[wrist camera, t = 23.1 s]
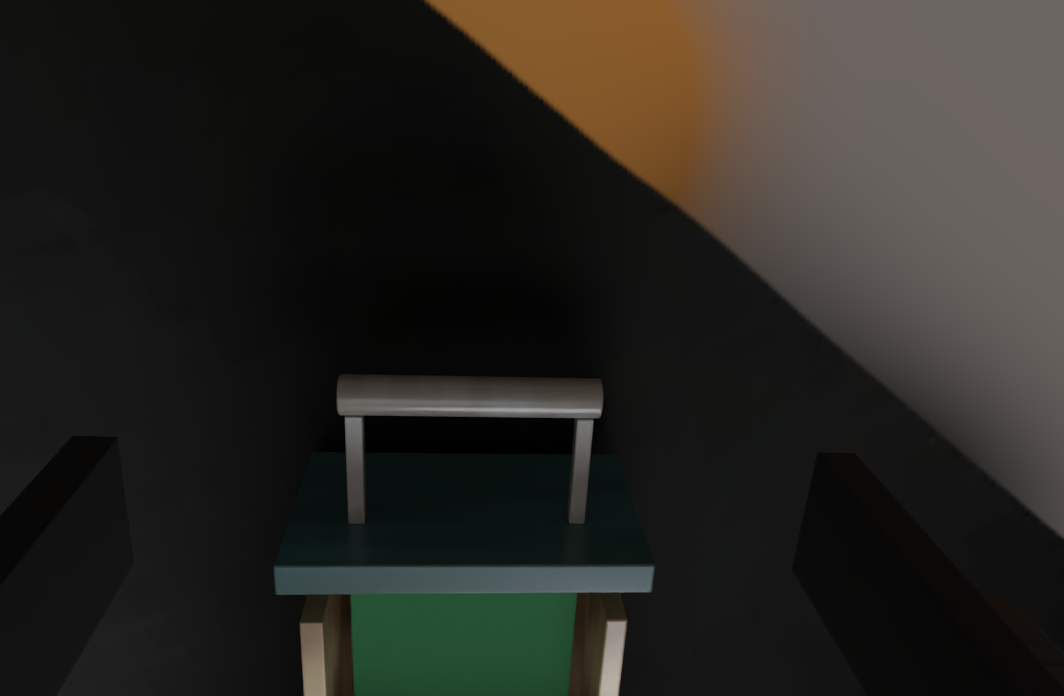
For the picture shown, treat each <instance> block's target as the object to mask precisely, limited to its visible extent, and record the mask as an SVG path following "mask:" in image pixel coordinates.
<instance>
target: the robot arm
mask: <svg viewBox="0 0 1064 696" xmlns="http://www.w3.org/2000/svg"><path fill="white" fill-rule="evenodd" d="M133 565H134V562H133V555H132V547H131V539H130V531H129V524H128V516H127V508H126V501H125V493H124V485H123V477H122V470H121V462H120V454H119V447H118V439H117V437H94V436H72V437H71V438H70V439H69V441H68V442H67V443H66V444H65V445H64V446H63V447H62V448H61V449H60V450H59V452H58V453H57V454H56V455H55V456H54V457H53V458H52V459H51V460H50V461H49V463H48V464H47V465H46V466H45V467H44V468H43V469H42V470H41V471H40V472H39V474H38V475H37V476H36V477H35V478H34V479H33V480H32V481H31V482H30V484H29V485H28V486H27V487H26V488H25V489H24V490H23V491H22V492H21V493H20V495H19V496H18V497H17V498H16V499H15V500H14V501H13V502H12V503H11V504H10V506H9V507H8V508H7V509H6V510H5V511H4V512H3V513H2V514H1V515H0V696H57V694H58V692H59V691H60V689H61V687H62V686H63V684H64V682H65V681H66V679H67V677H68V675H69V674H70V672H71V670H72V669H73V667H74V665H75V663H76V662H77V660H78V658H79V657H80V655H81V653H82V652H83V650H84V648H85V646H86V645H87V643H88V641H89V640H90V638H91V636H92V635H93V633H94V631H95V629H96V628H97V626H98V624H99V623H100V621H101V619H102V618H103V616H104V614H105V612H106V611H107V609H108V607H109V606H110V604H111V602H112V600H113V599H114V597H115V595H116V594H117V592H118V590H119V589H120V587H121V585H122V583H123V582H124V580H125V578H126V577H127V575H128V573H129V572H130V570H131V568H132V566H133ZM792 571H793V572H794V574H795V576H796V577H797V579H798V581H799V582H800V584H801V586H802V587H803V589H804V591H805V593H806V594H807V596H808V598H809V599H810V601H811V603H812V604H813V606H814V608H815V609H816V611H817V613H818V614H819V616H820V618H821V620H822V621H823V623H824V625H825V626H826V628H827V630H828V631H829V633H830V635H831V636H832V638H833V640H834V641H835V643H836V645H837V647H838V648H839V650H840V652H841V653H842V655H843V657H844V658H845V660H846V662H847V663H848V665H849V667H850V668H851V670H852V672H853V674H854V675H855V677H856V679H857V680H858V682H859V684H860V685H861V687H862V689H863V690H864V692H865V694H866V695H867V696H1064V652H1063V651H1062V650H1061V649H1060V648H1059V647H1058V646H1057V645H1056V644H1052V643H1051V638H1050V637H1049V636H1048V635H1047V634H1046V633H1045V632H1044V631H1043V630H1042V629H1041V628H1040V627H1039V626H1038V624H1037V623H1036V622H1035V621H1034V620H1033V619H1032V618H1031V617H1030V616H1029V615H1028V614H1026V613H1025V612H1023V611H1022V610H1020V609H1019V608H1017V607H1016V606H1014V605H1013V604H1011V603H1010V602H1008V601H1007V600H1005V599H1004V598H1003V597H1001V596H1000V595H998V594H980V593H979V592H978V591H977V590H976V589H975V588H974V587H973V585H972V584H971V583H970V582H969V581H968V580H967V579H966V578H965V576H964V575H963V574H962V573H961V572H960V571H959V570H958V569H957V567H956V566H955V565H954V564H953V563H952V562H951V561H950V560H949V558H948V557H947V556H946V555H945V554H944V553H943V552H942V551H941V549H940V548H939V547H938V546H937V545H936V544H935V543H934V542H933V540H932V539H931V538H930V537H929V536H928V535H927V534H926V533H925V531H924V530H923V529H922V528H921V527H920V526H919V525H918V524H917V522H916V521H915V520H914V519H913V518H912V517H911V516H910V515H909V513H908V512H907V511H906V510H905V509H904V508H903V507H902V506H901V504H900V503H899V502H898V501H897V500H896V499H895V498H894V497H893V495H892V494H891V493H890V492H889V491H888V490H887V489H886V488H885V486H884V485H883V484H882V483H881V482H880V481H879V480H878V479H877V478H876V476H875V475H874V474H873V473H872V472H871V471H870V470H869V469H868V467H867V466H866V465H865V464H864V463H863V462H862V461H861V460H860V458H859V457H858V456H857V455H856V454H855V453H817V458H816V462H815V467H814V471H813V476H812V480H811V485H810V489H809V494H808V498H807V503H806V507H805V512H804V516H803V521H802V525H801V530H800V534H799V539H798V543H797V548H796V552H795V557H794V561H793V566H792Z"/></svg>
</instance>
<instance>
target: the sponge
mask: <svg viewBox="0 0 1064 696" xmlns="http://www.w3.org/2000/svg"><path fill="white" fill-rule="evenodd" d="M350 601H351V630H352V658H353V686H354V696H568V695H569V684H570V672H571V661H572V650H573V638H574V627H575V615H576V604H577V593H469V594H350Z"/></svg>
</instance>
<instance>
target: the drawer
mask: <svg viewBox="0 0 1064 696" xmlns="http://www.w3.org/2000/svg"><path fill="white" fill-rule="evenodd" d="M336 405H337V412H338V414H339V415H345V443H346V452H313V453H312V455H311V458H310V461H309V464H308V466H307V469H306V472H305V475H304V478H303V481H302V484H301V487H300V490H299V493H298V496H297V499H296V502H295V505H294V508H293V511H292V514H291V516H290V519H289V522H288V525H287V528H286V531H285V534H284V537H283V540H282V543H281V546H280V549H279V552H278V555H277V558H276V561H275V564H274V566H273V569H274V583H275V593H276V594H277V595H307V597H306V601H305V605H304V608H303V612H302V616H301V620H300V639H301V655H302V671H303V687H304V696H354V686H353V658H352V630H351V601H350V594H469V593H577V604H576V615H575V627H574V638H573V650H572V661H571V672H570V684H569V695H568V696H619V688H620V680H621V671H622V663H623V654H624V646H625V637H626V629H627V617H626V613H625V609H624V605H623V602H622V598H621V594H620V592H651V591H652V587H653V580H654V572H655V563H654V560H653V557H652V555H651V552H650V549H649V546H648V543H647V540H646V537H645V534H644V532H643V529H642V526H641V523H640V520H639V517H638V514H637V512H636V509H635V506H634V503H633V500H632V497H631V494H630V491H629V489H628V486H627V483H626V480H625V477H624V474H623V471H622V468H621V466H620V463H619V460H618V457H617V455H591V445H592V434H593V422H594V421H593V418H600V416H601V414H602V409H603V386H602V382H601V380H600V379H599V378H547V377H488V376H429V375H370V374H341V375H339V377H338V381H337V391H336ZM364 415H368V416H449V417H529V418H575V422H574V435H573V447H572V454H468V453H365V432H364Z"/></svg>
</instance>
